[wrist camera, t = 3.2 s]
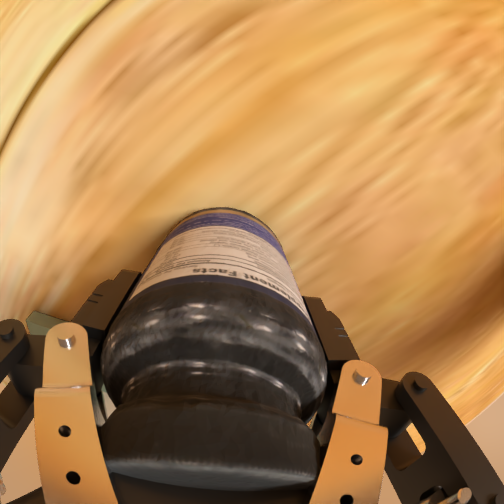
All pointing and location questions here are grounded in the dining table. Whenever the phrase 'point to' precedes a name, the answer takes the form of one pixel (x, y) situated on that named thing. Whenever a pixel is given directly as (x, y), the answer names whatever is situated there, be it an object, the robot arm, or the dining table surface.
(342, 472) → the robot arm
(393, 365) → the dining table surface
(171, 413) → the pill bottle
